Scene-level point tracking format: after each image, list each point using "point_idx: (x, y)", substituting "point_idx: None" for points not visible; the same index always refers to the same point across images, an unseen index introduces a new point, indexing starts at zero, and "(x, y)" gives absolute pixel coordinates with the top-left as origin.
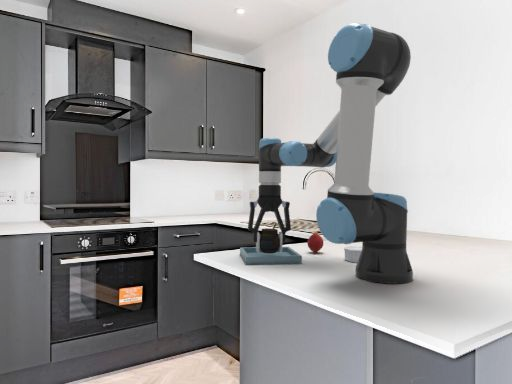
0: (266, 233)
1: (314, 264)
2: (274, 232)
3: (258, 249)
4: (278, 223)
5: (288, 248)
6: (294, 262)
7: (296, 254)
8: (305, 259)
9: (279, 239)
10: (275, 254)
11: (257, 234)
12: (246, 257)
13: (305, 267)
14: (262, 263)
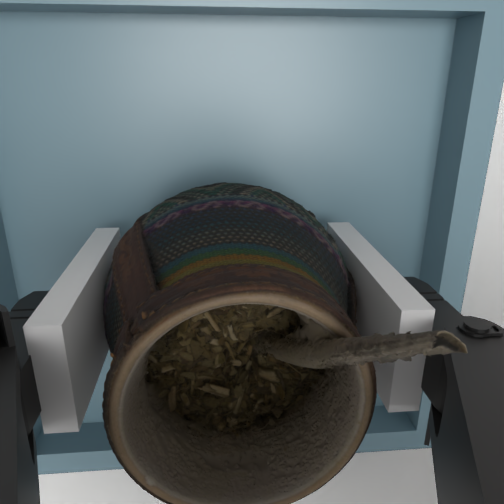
0: (178, 464)
1: None
2: (293, 473)
3: None
4: (459, 433)
5: (469, 100)
6: None
7: (422, 391)
8: (498, 280)
9: (361, 313)
10: (302, 157)
11: (51, 419)
12: None
13: (393, 491)
14: None
